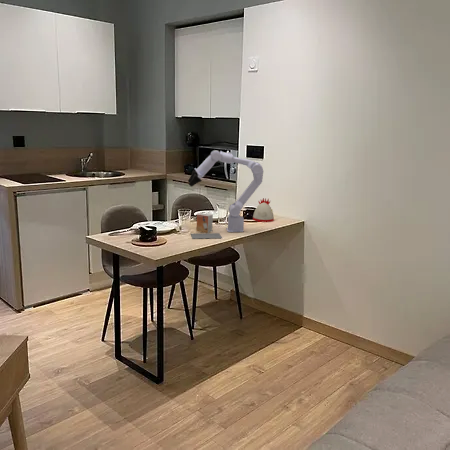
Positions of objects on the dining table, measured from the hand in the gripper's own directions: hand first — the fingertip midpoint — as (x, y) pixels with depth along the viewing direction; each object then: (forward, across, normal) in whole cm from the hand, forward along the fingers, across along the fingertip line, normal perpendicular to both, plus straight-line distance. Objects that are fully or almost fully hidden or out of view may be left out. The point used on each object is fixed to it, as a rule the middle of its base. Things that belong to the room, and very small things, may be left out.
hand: (189, 183), depth 281 cm
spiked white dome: (-11, -23, +59) cm, 64 cm away
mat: (+14, +19, +24) cm, 33 cm away
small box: (+15, +8, +25) cm, 30 cm away
